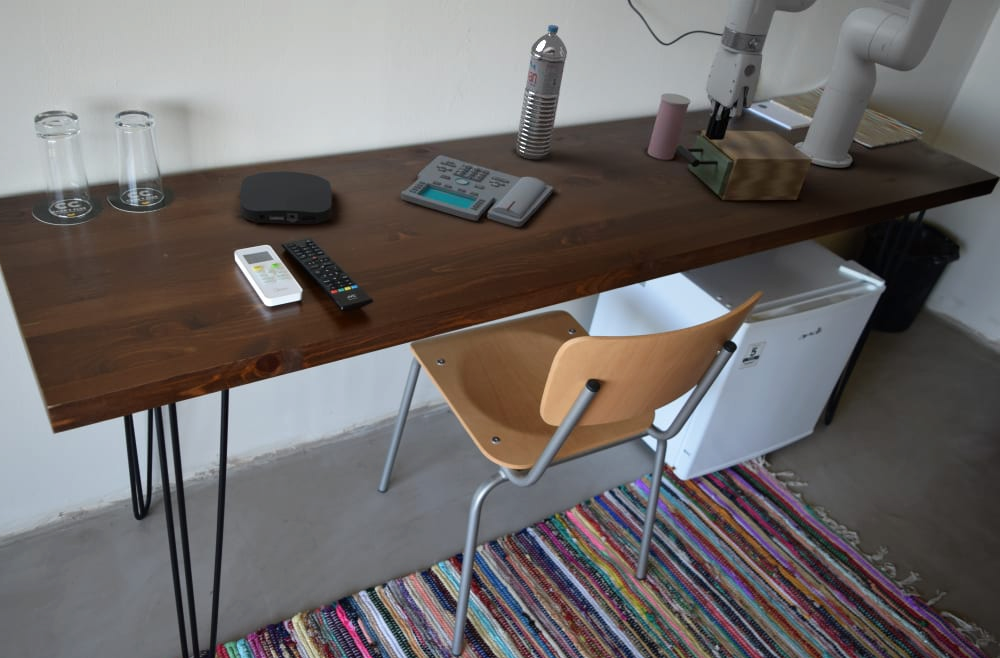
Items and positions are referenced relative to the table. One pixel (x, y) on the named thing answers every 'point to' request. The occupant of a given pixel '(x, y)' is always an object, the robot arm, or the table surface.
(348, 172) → the table surface
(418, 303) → the table surface
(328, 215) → the media streaming box
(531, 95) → the water bottle
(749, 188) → the wood-grain box
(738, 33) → the robot arm
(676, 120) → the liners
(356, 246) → the table surface
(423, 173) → the office telephone
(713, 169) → the drawer
